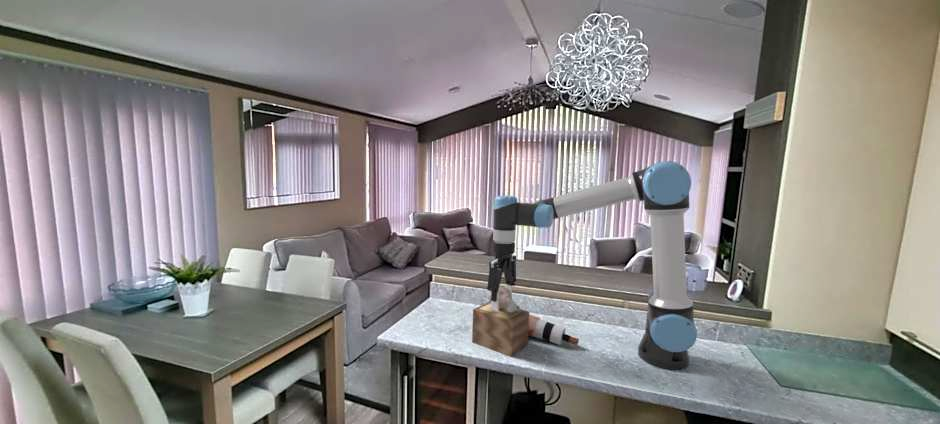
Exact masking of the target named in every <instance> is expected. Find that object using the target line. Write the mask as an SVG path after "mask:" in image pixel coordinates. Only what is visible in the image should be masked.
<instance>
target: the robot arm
mask: <svg viewBox="0 0 940 424" xmlns="http://www.w3.org/2000/svg"><path fill="white" fill-rule="evenodd" d="M688 171H689V170H687V168H686V167H684V165H682V164H680V163H678V162H675V161H673V160H664V161H658V162H655V163H654V164H653V163H652V164H651V165H650V166H647V167H645V168H642V169H641V170H640V169H639V170H637V171H633V172H630V174H629V176H628V177H624V178H620V179H619V178H618V179H614V180H612V181H608V182H605V183H601V184H597V185H593V186H590V187H587V188H583V189H579V190H575V191H571V192H568V193H564V194H560V195H557V196H556V195H555V196H554V197H549V198H544V199H539V200H537V202H534V203H529V202H528V203H526V202H518V198H517V196H515V195H496V197H495V198H494V206H493V231H492V232H493V234H492V240H493V242H492V252H493V254H494V259H493V260H490V261H489V262H488V264H489V265H488V266H489V268H488V269H489V270H488V278H487V279H488V280H487V287H486V288H487V289H486V290H487V291H489V292H491V293H490V296H491V309H492V310H495V311H499V297H500V292H498V290H499V287H500V285H501V280H502V276H503V274H504V280H505V284H504V286H503V287H505V288H507V289H508V290H509V292H510V294H511V297H513V286H514V287H515V286H516V283H517V266H516V265H517V264H516V261H517V255H516V254H515V251H516V243H515V242H516V230H517V229H516V228H517V226H520V227H521V226H524V227H532V228H533V227H534V228H539V229H542V228H544V229H545V228H546V229H547V228H550V227H552V225H553V222H554V220H556V219H560V218H564V217H569V216H572V215H577V214H580V213H585V212H588V211H593V210H597V209H601V208H604V207H605V208H606V207H609V206H614V205H618V204H621V203H626V202H629V201H633V200H634V201H637V202H642V201H643V208H644V209H643V210H644V212H646V213H647V214H648V215H649V216H650V217H649V219H650V239H651V241H650V242H651V261H652V263H651V264H652V283H653V284H652V285H653V288H652V289H650V290H649V292H648V296H647V299H648V301H647V311H646V323H645V325H646V326H645V331H644V334H643V336H642V338H641V340H640V342H639V344H638V348H637V355H638V356H639V358H640V359H641V360H643V361H644V362H646V363H648V364H649V365H652V366H655V367H657V368H660V369H665V370H674V371H675V370H677V371H678V370H684V369H686V368H687V367H689V365H690V364H689V363H690V355H689V351H688V350H689V349H691V348H692V347H693V346H694V345H695V343H696V341H697V336H698V331H697V330H698V329H697V327H696V325H695V316H694V315H695V314H694V313H695V312H694V302H693V300H692V299H690V296H689V295H688V294H687V293H688V292H687V291H688V290H687V289H688V288H687V268H686V267H687V266H686V265H687V264H686V244H685V243H686V242H685V241H686V240H685V236H686V235H685V219H684V218H685V217H684V216H685V215H684V214H685V213H686V212H688V210H690V192H691V189H692V188H691V187H692V177H691V175H690V173H689V172H688ZM514 254H515V255H514Z"/></svg>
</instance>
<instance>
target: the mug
mask: <svg viewBox="0 0 940 424" xmlns="http://www.w3.org/2000/svg"><path fill="white" fill-rule="evenodd" d="M498 292H500V297H499V307H500V308H503V309H505V310H506V311H507V312H509V313H511V312H514V311H515V310H517V311H520V309H521V308H520V306H518V305H517V302H516V301H514V299H513V298H512V297H513V296H512V297H511V294H510V292H509V290H508V289H507V288H505V287H504V286H500V285H499V290H498ZM489 297H490V298H489V299H490V300H491V295H490V296H489ZM490 300H489V301H490Z"/></svg>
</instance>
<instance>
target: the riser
mask: <svg viewBox="0 0 940 424" xmlns="http://www.w3.org/2000/svg"><path fill="white" fill-rule="evenodd" d="M489 301H490V300H489ZM489 301H488V302H486V303H484V304H482V305H480V306H477V307H476V308H473V309H472V332H471V333H472V334H471V335H472V336H471V338H472V339H471V343H473V344H476V345H478V346H482V347H483V346H484V348H487V349H489V350H492V351H494V352H497V353H500V354H502V355H506V356H508V357H511V358H512V357H513V356H514V355H516V354H517V353H519V352H520V351H522V350H523V349H524V348H526V347H527V346H528V345H529V335H528V329H529V315H530V311H526V310H523V309H522V308H520V311H517V310H515V311H514V312H511V313H509V312H507V311H506V310H505V309H503V308H500V307H499V311H495V310H492V309H491V301H490V302H489Z"/></svg>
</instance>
